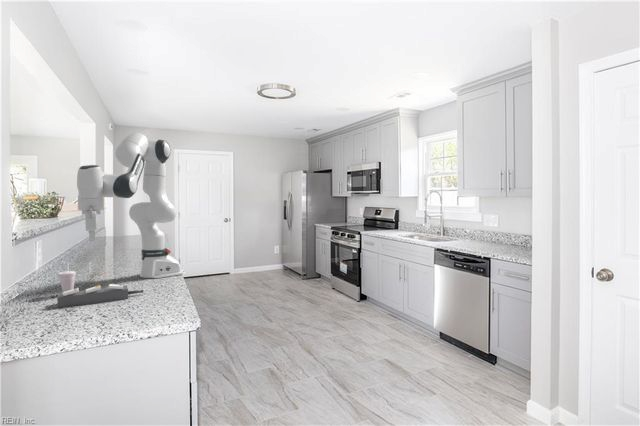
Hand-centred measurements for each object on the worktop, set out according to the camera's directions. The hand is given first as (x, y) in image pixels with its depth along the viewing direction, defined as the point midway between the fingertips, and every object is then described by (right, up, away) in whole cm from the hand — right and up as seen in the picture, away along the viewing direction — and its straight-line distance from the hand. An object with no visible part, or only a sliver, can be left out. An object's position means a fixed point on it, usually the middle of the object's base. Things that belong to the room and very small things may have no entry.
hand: (92, 240), depth 147 cm
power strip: (+2, -25, +4) cm, 25 cm away
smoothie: (-18, -25, +12) cm, 33 cm away
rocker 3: (+6, -21, +5) cm, 22 cm away
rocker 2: (0, -21, +1) cm, 21 cm away
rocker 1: (-6, -21, -3) cm, 22 cm away
